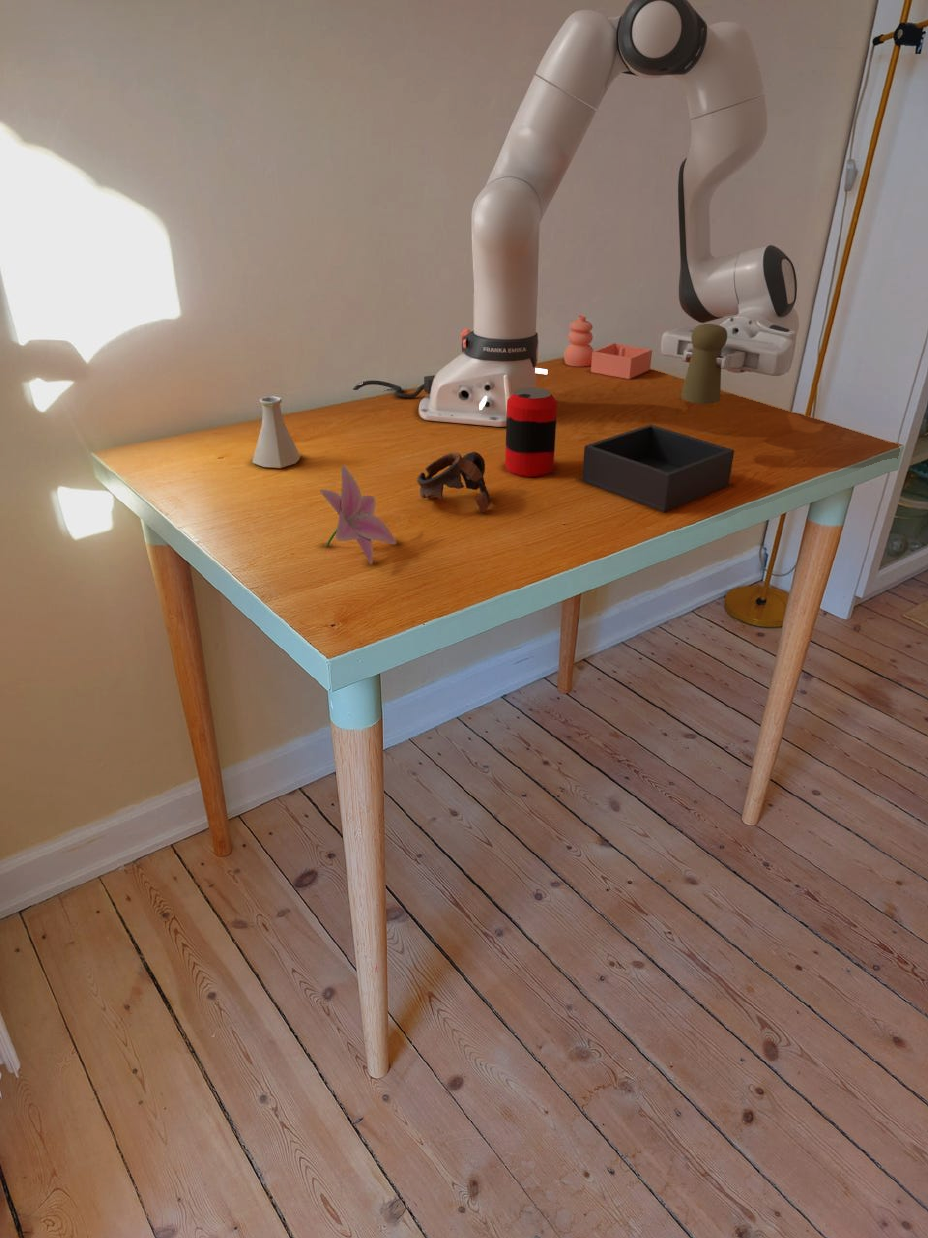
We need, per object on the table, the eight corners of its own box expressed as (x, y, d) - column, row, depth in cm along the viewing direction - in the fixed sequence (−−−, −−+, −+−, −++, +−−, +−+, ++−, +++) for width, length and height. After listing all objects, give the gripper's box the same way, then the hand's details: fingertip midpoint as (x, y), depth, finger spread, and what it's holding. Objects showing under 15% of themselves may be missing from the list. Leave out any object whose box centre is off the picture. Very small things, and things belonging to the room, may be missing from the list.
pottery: (650, 369, 192) (655, 322, 187) (629, 379, 186) (634, 330, 181) (576, 356, 202) (580, 310, 197) (554, 364, 195) (557, 318, 190)
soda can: (495, 470, 140) (497, 393, 134) (522, 456, 146) (525, 382, 140) (536, 481, 137) (539, 403, 130) (562, 467, 142) (567, 391, 136)
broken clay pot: (481, 525, 124) (450, 476, 120) (429, 538, 130) (399, 492, 126) (513, 475, 131) (485, 428, 128) (463, 490, 137) (435, 445, 134)
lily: (324, 586, 109) (360, 525, 105) (274, 523, 114) (306, 462, 109) (392, 580, 119) (427, 524, 114) (343, 522, 123) (375, 466, 119)
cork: (721, 405, 137) (733, 330, 131) (680, 402, 138) (690, 328, 132) (719, 393, 142) (730, 321, 136) (680, 391, 143) (690, 319, 137)
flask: (308, 457, 145) (303, 395, 140) (282, 472, 139) (276, 408, 134) (271, 450, 147) (265, 390, 142) (244, 464, 142) (236, 402, 137)
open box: (664, 512, 127) (669, 475, 124) (581, 481, 137) (584, 445, 134) (728, 485, 136) (734, 449, 133) (646, 457, 146) (650, 424, 143)
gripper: (685, 313, 149) (644, 328, 140) (807, 332, 139) (771, 349, 129) (680, 352, 153) (640, 368, 143) (798, 373, 142) (763, 393, 132)
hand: (703, 359), depth 136 cm, fingers closed on cork, 4 cm apart
